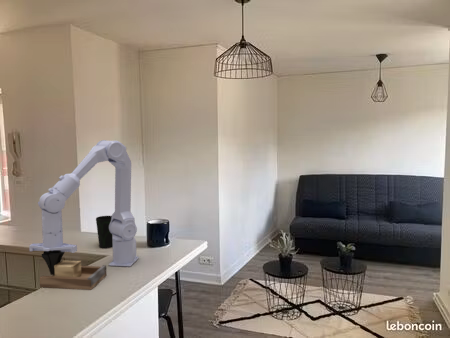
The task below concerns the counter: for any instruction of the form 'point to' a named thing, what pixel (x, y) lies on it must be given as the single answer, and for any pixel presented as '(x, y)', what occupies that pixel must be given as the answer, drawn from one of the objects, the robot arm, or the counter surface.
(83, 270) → the bay
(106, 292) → the counter surface
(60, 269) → the box
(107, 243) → the cup
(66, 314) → the counter surface
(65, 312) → the counter surface
